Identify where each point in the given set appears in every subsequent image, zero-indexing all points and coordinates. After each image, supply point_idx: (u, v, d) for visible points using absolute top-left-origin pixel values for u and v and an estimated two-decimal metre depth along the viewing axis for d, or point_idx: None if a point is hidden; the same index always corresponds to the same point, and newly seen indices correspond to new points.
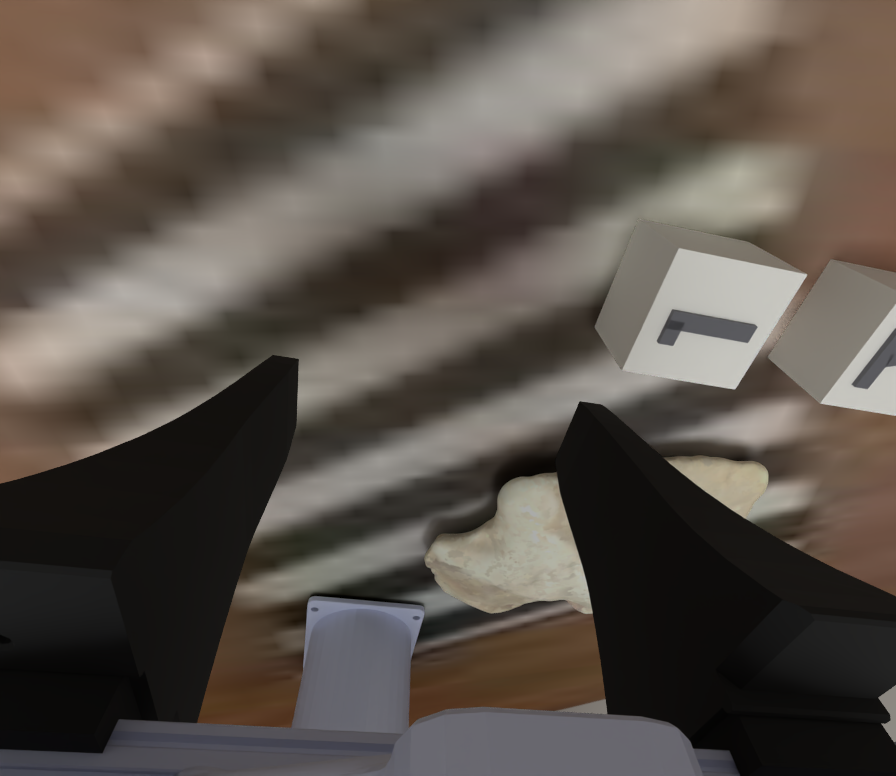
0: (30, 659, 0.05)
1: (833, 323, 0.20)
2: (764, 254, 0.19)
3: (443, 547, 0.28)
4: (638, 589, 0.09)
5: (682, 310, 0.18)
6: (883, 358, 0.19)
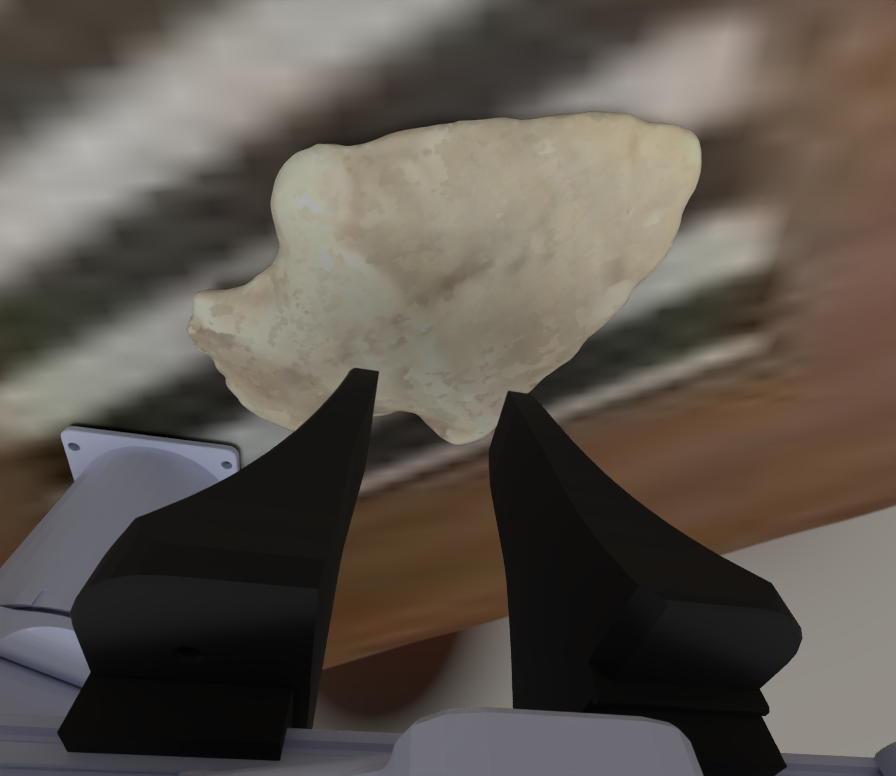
0: (214, 671, 0.05)
1: None
2: None
3: (203, 300, 0.18)
4: (540, 579, 0.09)
5: None
6: None
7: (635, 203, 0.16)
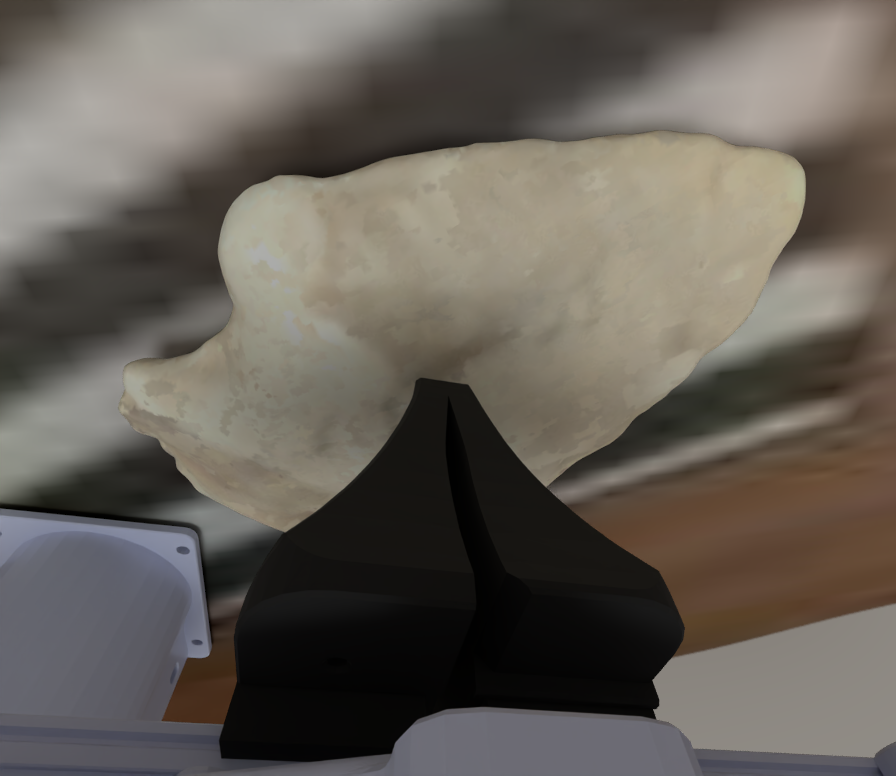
0: (357, 680, 0.06)
1: None
2: None
3: (135, 375, 0.13)
4: None
5: None
6: None
7: (712, 254, 0.12)
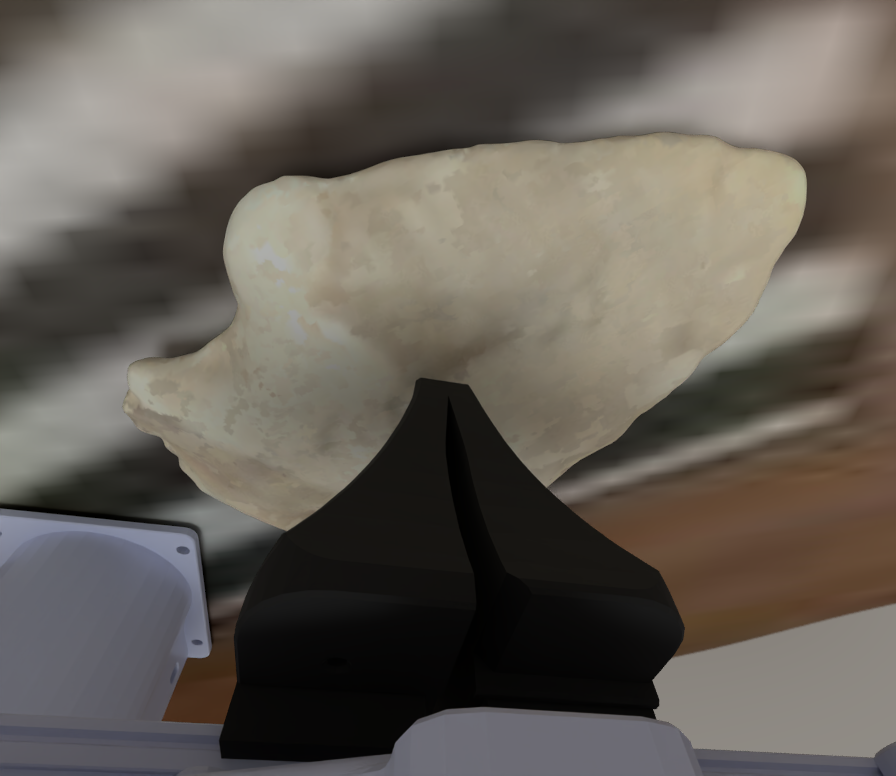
0: (357, 680, 0.06)
1: None
2: None
3: (140, 374, 0.14)
4: None
5: None
6: None
7: (713, 254, 0.12)
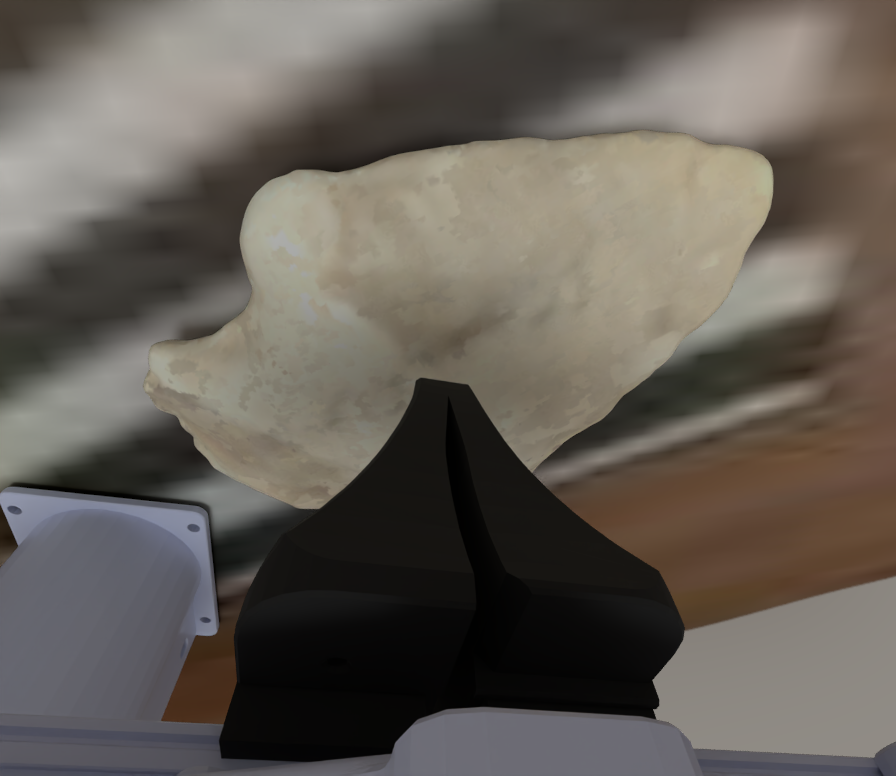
0: (356, 680, 0.06)
1: None
2: None
3: (160, 355, 0.15)
4: None
5: None
6: None
7: (689, 242, 0.13)
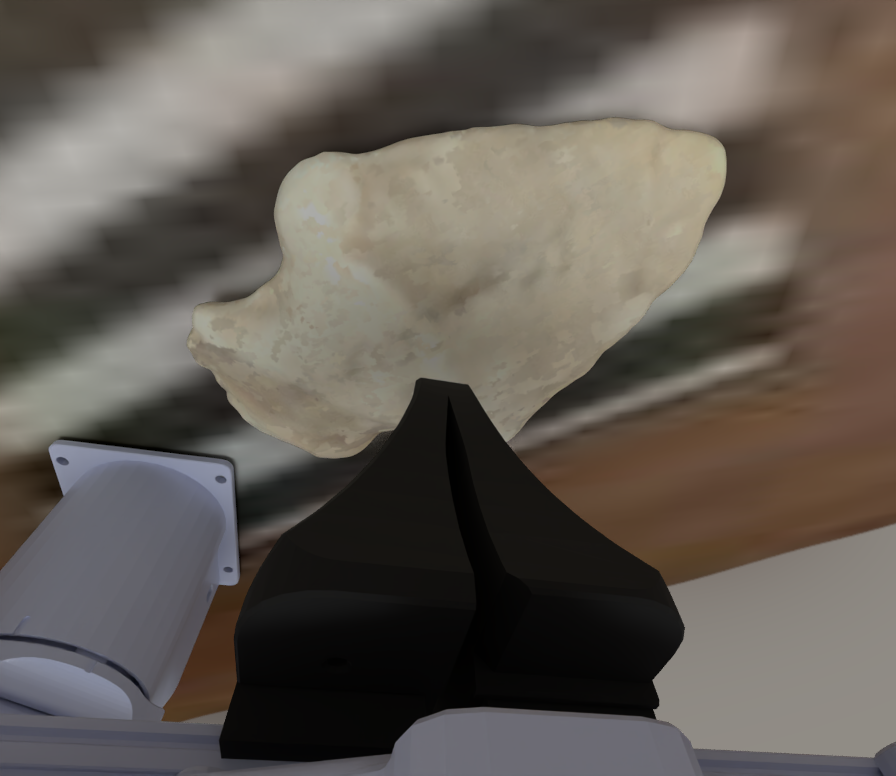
0: (356, 680, 0.06)
1: None
2: None
3: (203, 314, 0.17)
4: None
5: None
6: None
7: (656, 213, 0.15)
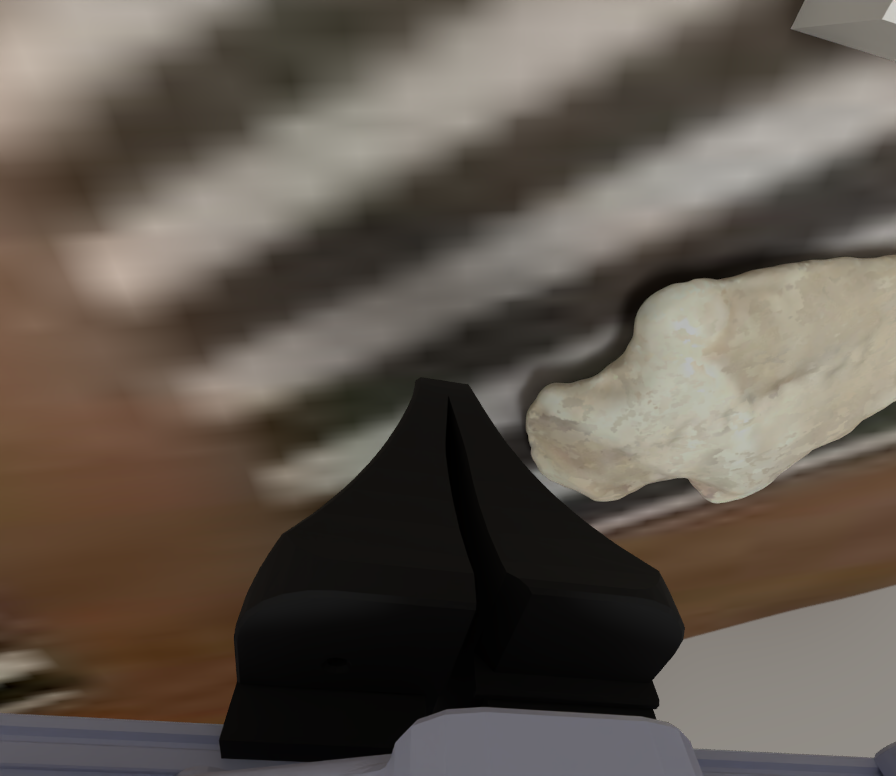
0: (356, 680, 0.06)
1: None
2: None
3: (557, 394, 0.21)
4: None
5: None
6: None
7: None
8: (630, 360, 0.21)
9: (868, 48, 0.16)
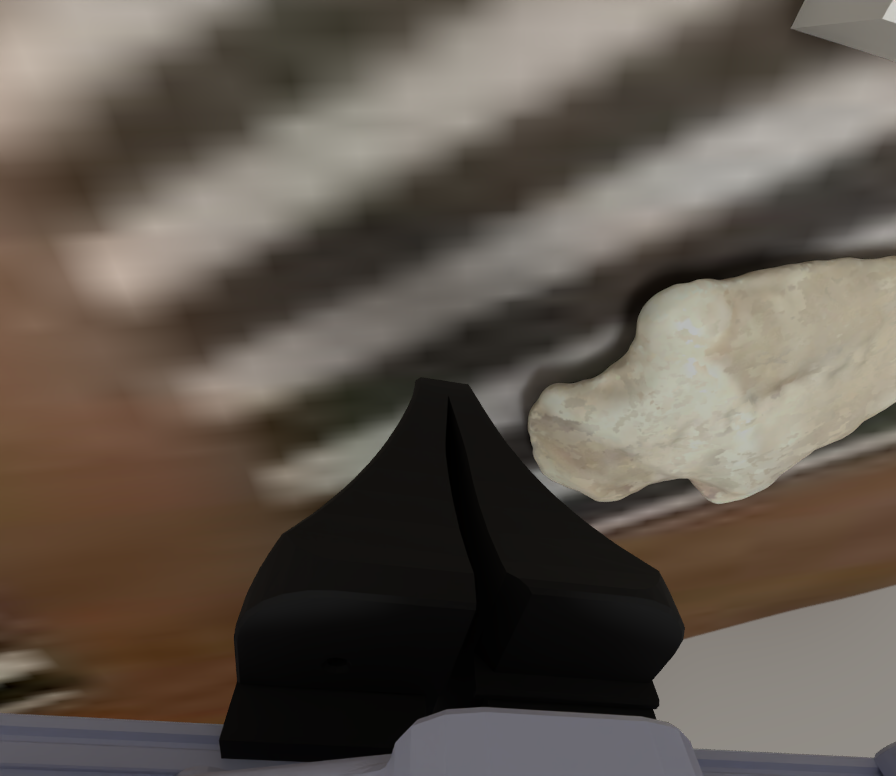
0: (356, 680, 0.06)
1: None
2: None
3: (559, 394, 0.21)
4: None
5: None
6: None
7: None
8: (632, 360, 0.21)
9: (868, 48, 0.16)
